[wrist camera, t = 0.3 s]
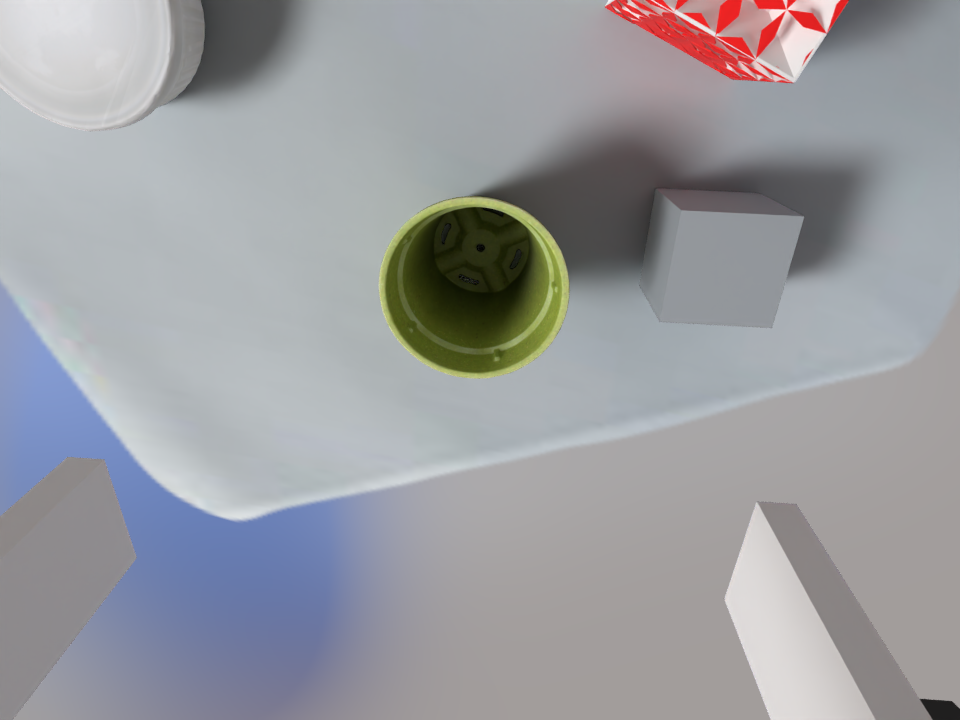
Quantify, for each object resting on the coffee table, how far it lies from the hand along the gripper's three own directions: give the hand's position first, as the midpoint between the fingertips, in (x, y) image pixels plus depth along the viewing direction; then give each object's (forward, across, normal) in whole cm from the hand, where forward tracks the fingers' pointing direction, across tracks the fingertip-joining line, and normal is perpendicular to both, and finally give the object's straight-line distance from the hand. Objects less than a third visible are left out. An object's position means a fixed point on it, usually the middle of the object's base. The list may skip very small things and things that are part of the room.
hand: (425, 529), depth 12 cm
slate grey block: (+26, +13, -1) cm, 29 cm away
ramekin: (+27, -20, +10) cm, 35 cm away
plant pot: (+26, 0, -2) cm, 26 cm away
